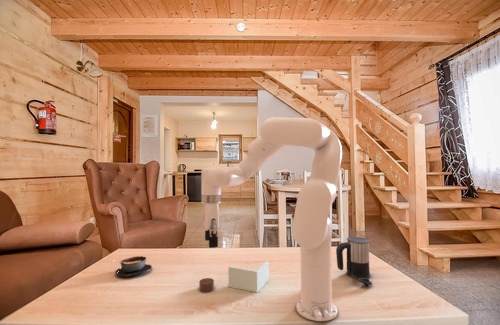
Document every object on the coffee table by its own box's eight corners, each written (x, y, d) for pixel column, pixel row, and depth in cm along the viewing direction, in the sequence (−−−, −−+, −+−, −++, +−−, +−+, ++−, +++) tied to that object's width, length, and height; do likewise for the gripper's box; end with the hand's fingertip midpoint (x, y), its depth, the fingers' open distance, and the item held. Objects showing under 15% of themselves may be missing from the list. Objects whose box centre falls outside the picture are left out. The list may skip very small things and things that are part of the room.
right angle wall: (268, 279, 108) (268, 261, 108) (257, 292, 97) (257, 271, 97) (242, 275, 113) (242, 257, 113) (228, 286, 102) (228, 267, 102)
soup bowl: (152, 275, 113) (152, 258, 113) (110, 282, 107) (110, 263, 107) (151, 264, 127) (151, 248, 127) (114, 269, 121) (114, 252, 121)
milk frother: (358, 269, 118) (358, 235, 118) (389, 283, 103) (388, 245, 103) (333, 274, 112) (332, 239, 112) (361, 290, 98) (360, 249, 98)
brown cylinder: (212, 292, 97) (212, 284, 98) (198, 292, 98) (197, 284, 98) (214, 285, 103) (214, 278, 103) (201, 285, 103) (201, 278, 103)
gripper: (198, 197, 109) (198, 238, 109) (204, 202, 93) (204, 251, 93) (216, 196, 112) (216, 237, 111) (225, 201, 95) (225, 249, 95)
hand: (211, 243), depth 102 cm, fingers open, 9 cm apart
